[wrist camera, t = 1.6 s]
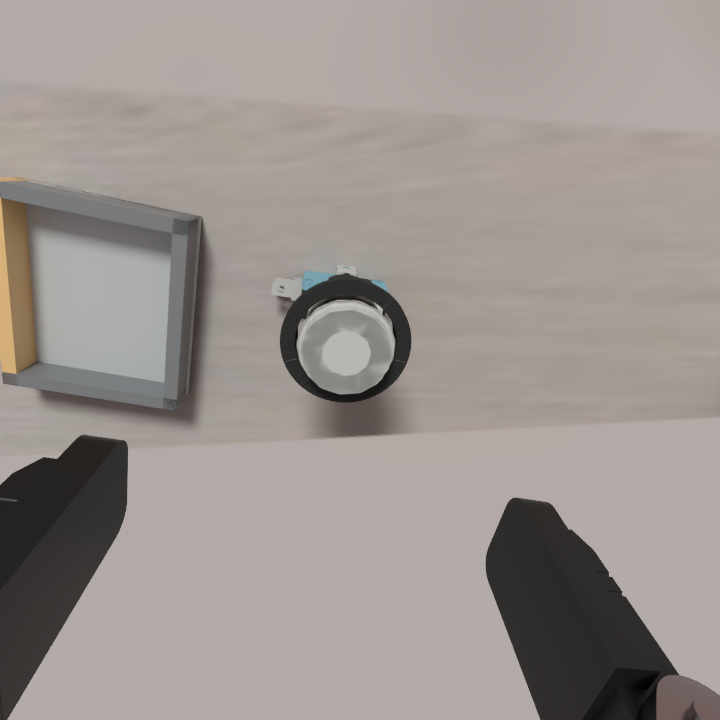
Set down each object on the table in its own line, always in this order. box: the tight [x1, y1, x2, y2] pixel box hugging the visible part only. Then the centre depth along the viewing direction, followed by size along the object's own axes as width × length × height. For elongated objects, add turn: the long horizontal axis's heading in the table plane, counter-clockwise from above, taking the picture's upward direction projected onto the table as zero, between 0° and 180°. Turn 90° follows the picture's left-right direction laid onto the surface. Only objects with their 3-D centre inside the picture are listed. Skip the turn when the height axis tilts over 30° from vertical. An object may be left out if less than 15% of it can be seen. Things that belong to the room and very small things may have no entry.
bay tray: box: [0, 177, 202, 411], centre depth 25 cm, size 10×11×2 cm
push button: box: [272, 265, 411, 402], centre depth 22 cm, size 7×5×10 cm
